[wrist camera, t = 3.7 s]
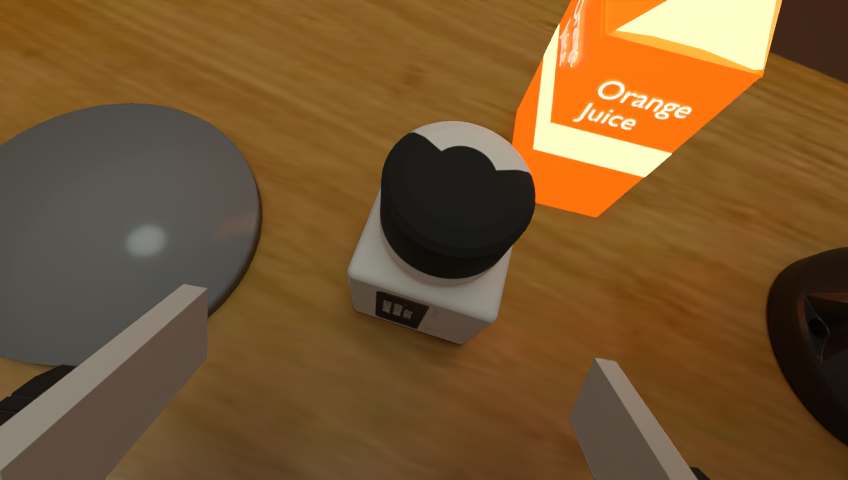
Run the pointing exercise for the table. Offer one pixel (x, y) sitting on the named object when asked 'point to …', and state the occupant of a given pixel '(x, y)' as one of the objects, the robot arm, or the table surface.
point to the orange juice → (633, 90)
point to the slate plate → (116, 225)
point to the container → (442, 231)
